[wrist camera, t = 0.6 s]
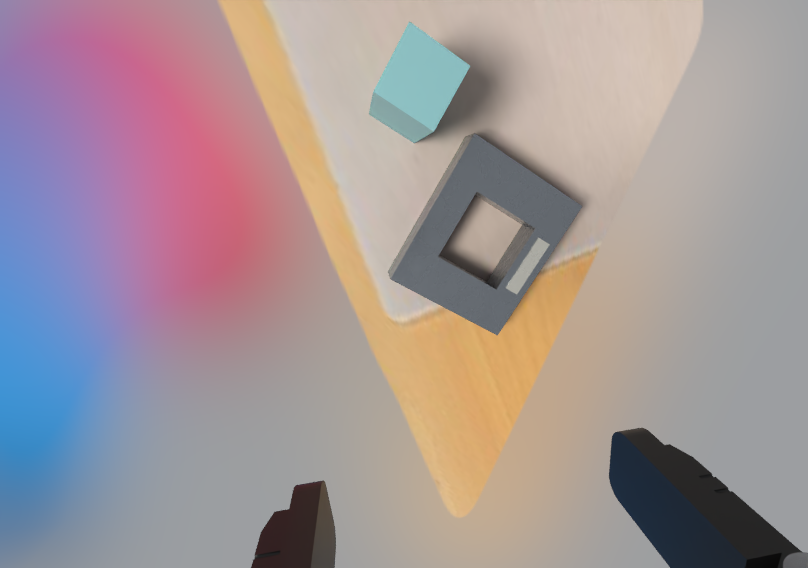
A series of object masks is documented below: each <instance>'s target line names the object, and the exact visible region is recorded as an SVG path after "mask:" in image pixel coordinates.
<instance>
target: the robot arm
mask: <svg viewBox="0 0 808 568" xmlns="http://www.w3.org/2000/svg"><path fill="white" fill-rule="evenodd" d="M609 479H610V484H611V487H612V489H613V492H614V494H615V496H616V498H617V499H618V501H619V502H620V503H621V504H622V506H623V507H624V508H625V510H626V511H627V512H628V514H629V515H630V516H631V517H632V519H633V520H634V521H635V523H636V524H637V525H638V526H639V528H640V529H641V530H642V532H643V533H644V534H645V536H646V537H647V538H648V539H649V541H650V542H651V543H652V545H653V546H654V547H655V548H656V550H657V551H658V552H659V554H660V555H661V556H662V557H663V559H664V560H665V561H666V563H667V564H668V565H669V567H670V568H808V553H804V552H802V551H800V550H799V549H798V548H797V547H795V546H794V545H793V544H792V543H791V542H789V540H787V539H786V538H785V537H784V536H783V535H782V534H780V533H779V532H778V531H777V530H776V529H775V528H774V527H772V526H771V525H770V524H769V523H768V522H767V521H765V520H764V519H763V518H762V517H761V516H760V515H759V514H757V513H756V512H755V511H754V510H753V509H752V508H750V507H749V506H748V505H747V504H746V503H745V502H744V501H743V500H741V499H740V498H739V497H738V496H737V495H736V494H735V493H733V492H730V491H729V490H728V487H726V486H725V485H724V484H723V483H722V482H721V481H720V480H718V479H717V478H716V477H713V476H712V474H711V473H710V472H709V471H708V470H707V469H706V468H705V467H703V466H702V465H701V464H700V463H699V462H698V461H696V460H695V459H694V458H693V457H692V456H690V455H688V454H686V453H684V452H682V451H681V450H679V449H677V448H675V447H673V446H671V445H664V444H662V443H661V442H660V441H659V440H658V439H657V438H656V437H655V436H654V435H653V434H651V433H650V432H649V431H648V430H646V429H644V428H637V429H631V430H625V431H619V432H615V433H614V434H613V436H612V444H611V456H610V469H609ZM335 550H336V537H335V526H334V520H333V516H332V511H331V506H330V502H329V497H328V492H327V488H326V484H325V482H324V481H318V482H313V483H307V484H301V485H296V486H295V487H294V490H293V494H292V499H291V504H290V509H288V510H282V511H277V512H274V514H273V515H272V517H271V518H270V520H269V521H268V523H267V524H266V526H265V527H264V529H263V530H262V532H261V535H260V538H259V542H258V545H257V549H256V552H255V559H254V560H253V564H252V567H251V568H334V567H335V566H334V565H335V552H336V551H335Z"/></svg>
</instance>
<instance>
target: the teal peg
mask: <svg viewBox="0 0 808 568" xmlns="http://www.w3.org/2000/svg"><path fill="white" fill-rule="evenodd" d="M469 68H470V65H468V64H467V63H466V62H464V61H463V60H462V59H460V58H459V57H457V56H456V55H455V54H453V53H452V52H451V51H449V50H448V49H446V48H445V47H444V46H442V45H441V44H440V43H438V42H437V41H435V40H434V39H433V38H431V37H430V36H429V35H427V34H426V33H424V32H423V31H422V30H420V29H419V28H418V27H416V26H415V25H414V24H412V23H411V22H409V23H408V25H407V27H406V29H405V31H404V33H403V35H402V37H401V39H400V41H399V43H398V45H397V47H396V49H395V51H394V53H393V55H392V57H391V59H390V60H389V62H388V64H387V66H386V68H385V70H384V72H383V74H382V76H381V78H380V80H379V82H378V84H377V86H376V88H375V90H374V92H373V96H372V101H371V106H370V111H369V115H371V116H372V117H374V118H376V119H377V120H379V121H380V122H382V123H383V124H385V125H386V126H388V127H390V128H391V129H393V130H394V131H396V132H397V133H399V134H401V135H402V136H404V137H405V138H407V139H408V140H410V141H412V142H413V143H416V142H417V141H419V140H421V139H422V138H424V137H426V136H427V135H429V134H431V133H432V132H434V131H435V129H436V127H437V125H438V123H439V122H440V120H441V118H442V116H443V114H444V113H445V111H446V109H447V107H448V105H449V104H450V102H451V100H452V98H453V96H454V95H455V93H456V91H457V89H458V87H459V86H460V84H461V82H462V80H463V78H464V77H465V75H466V73H467V71H468V69H469Z"/></svg>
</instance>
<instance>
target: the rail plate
mask: <svg viewBox="0 0 808 568" xmlns="http://www.w3.org/2000/svg"><path fill="white" fill-rule="evenodd" d="M474 195H476V196H478V197H479V198H481V199H482V200H484V201H486V202H487V203H489V204H490V205H492V206H494V207H495V208H497V209H498V210H500V211H501V212H503V213H505V214H506V215H508V216H509V217H511V218H513V219H514V220H516V221H517V222H519V223H521V224H522V227H521V228H520V230H519V231H518V233H517V235H516V236H515V238H514V239H513V241H512V242H511V244H510V246H509V247H508V249H507V250H506V252H505V254H504V255H503V257H502V258H501V260H500V261H499V263H498V265H497V266H496V268H495V269H494V271H493V272H492V274H491V276H490V277H489V279H488V280H487V282H486V281H484V280H482V279H481V278H479V277H477V276H475V275H474V274H472V273H470V272H468V271H467V270H465V269H463V268H461V267H459V266H458V265H456V264H454V263H452V262H451V261H449V260H447V259H445V258H443V257H442V256H440V255H439V254H440V252H441V251H442V249H443V247H444V246H445V244H446V242H447V241H448V239H449V237H450V236H451V234H452V232H453V231H454V229H455V227H456V226H457V224H458V222H459V221H460V219H461V217H462V215H463V214H464V212H465V210H466V209H467V207H468V205H469V204H470V202H471V200H472V199H473V197H474ZM581 208H582V206H581V205H580V204H578V203H577V202H575V201H574V200H573V199H571V198H570V197H568V196H567V195H565V194H564V193H562V192H561V191H559V190H558V189H556V188H555V187H553V186H552V185H550V184H549V183H547V182H546V181H544V180H543V179H542V178H540V177H539V176H537V175H536V174H534V173H533V172H531V171H530V170H528V169H527V168H525V167H524V166H522V165H521V164H519V163H518V162H516V161H515V160H513V159H512V158H511V157H509V156H508V155H506V154H505V153H503V152H502V151H500V150H499V149H497V148H496V147H494V146H493V145H491V144H490V143H488V142H487V141H485V140H484V139H482V138H481V137H479V136H478V135H477V134H475V133H474V134H471V135H469V136H466V137H465V138H464V140H463V142H462V144H461V145H460V147H459V149H458V151H457V152H456V154H455V156H454V158H453V159H452V161H451V163H450V165H449V166H448V168H447V170H446V172H445V173H444V175H443V177H442V178H441V180H440V182H439V184H438V185H437V187H436V189H435V191H434V192H433V194H432V196H431V198H430V199H429V201H428V203H427V205H426V206H425V208H424V210H423V212H422V213H421V215H420V217H419V219H418V220H417V222H416V224H415V226H414V227H413V229H412V231H411V233H410V234H409V236H408V238H407V240H406V241H405V243H404V245H403V246H402V248H401V250H400V252H399V253H398V255H397V257H396V259H395V260H394V262H393V264H392V266H391V267H390V269H389V271H388V273H389V276H390V279H391V280H393V281H395V282H397V283H399V284H401V285H403V286H405V287H406V288H408V289H410V290H412V291H414V292H416V293H418V294H420V295H422V296H424V297H425V298H427V299H429V300H431V301H433V302H435V303H437V304H439V305H441V306H443V307H444V308H446V309H448V310H450V311H452V312H454V313H456V314H458V315H460V316H462V317H463V318H465V319H467V320H469V321H471V322H473V323H475V324H477V325H479V326H481V327H482V328H484V329H486V330H488V331H490V332H492V333H494V334H496V335H498V334H499V332H500V331H501V329H502V328H503V326H504V325H505V323H506V322H507V320H508V319H509V317H510V316H511V314H512V313H513V311H514V310H515V308H516V307H517V305H518V303H519V302H520V300H521V299H522V297H523V296H524V294H525V293H526V291H527V290H528V288H529V287H530V285H531V284H532V282H533V281H534V279H535V278H536V276H537V275H538V273H539V272H540V270H541V269H542V267H543V265H544V264H545V262H546V261H547V259H548V258H549V256H550V255H551V253H552V252H553V250H554V249H555V247H556V246H557V244H558V243H559V241H560V240H561V238H562V237H563V235H564V234H565V232H566V231H567V229H568V227H569V226H570V224H571V223H572V221H573V220H574V218H575V217H576V215H577V214H578V212H579V211H580V209H581Z"/></svg>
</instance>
